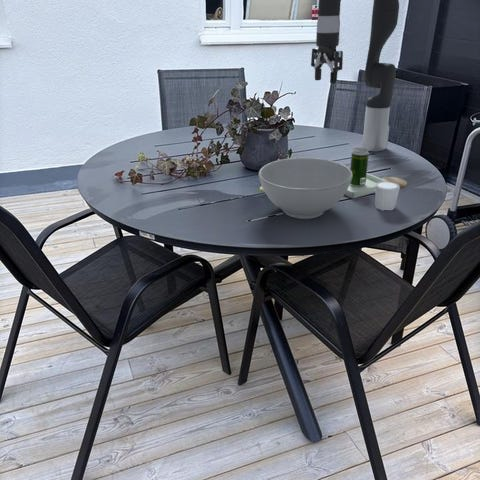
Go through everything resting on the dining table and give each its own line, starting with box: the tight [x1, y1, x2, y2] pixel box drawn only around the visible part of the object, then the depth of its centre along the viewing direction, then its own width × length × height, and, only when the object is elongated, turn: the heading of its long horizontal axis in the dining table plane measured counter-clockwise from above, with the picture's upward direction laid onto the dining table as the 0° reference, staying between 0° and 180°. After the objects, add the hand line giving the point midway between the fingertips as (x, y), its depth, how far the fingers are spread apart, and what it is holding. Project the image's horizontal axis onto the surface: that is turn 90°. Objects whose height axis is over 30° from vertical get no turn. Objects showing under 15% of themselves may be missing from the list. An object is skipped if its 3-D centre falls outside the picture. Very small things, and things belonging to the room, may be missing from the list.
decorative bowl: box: [258, 157, 353, 220], centre depth 135 cm, size 27×27×12 cm
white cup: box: [374, 181, 401, 211], centre depth 137 cm, size 7×7×7 cm
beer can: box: [349, 147, 370, 187], centre depth 151 cm, size 5×5×12 cm
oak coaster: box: [381, 176, 408, 189], centre depth 155 cm, size 9×9×1 cm
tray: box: [343, 172, 386, 200], centre depth 153 cm, size 16×14×2 cm
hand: (325, 81), depth 161 cm, fingers open, 8 cm apart
